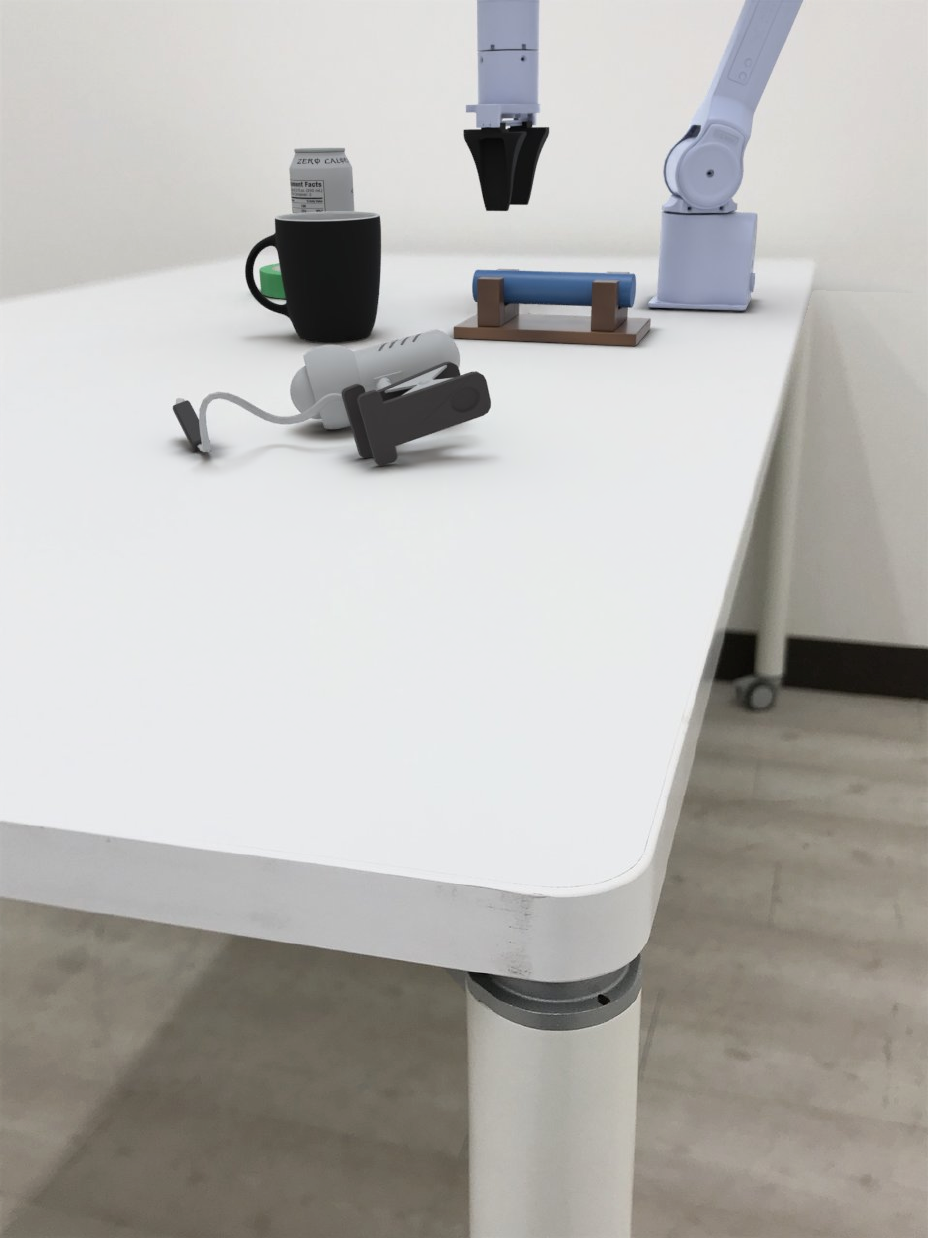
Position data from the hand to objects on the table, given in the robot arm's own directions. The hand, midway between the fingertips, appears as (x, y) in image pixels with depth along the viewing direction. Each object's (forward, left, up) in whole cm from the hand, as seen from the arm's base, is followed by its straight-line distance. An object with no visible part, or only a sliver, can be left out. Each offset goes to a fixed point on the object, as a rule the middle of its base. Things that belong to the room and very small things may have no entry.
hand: (507, 207), depth 108 cm
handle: (-8, +14, -7) cm, 18 cm away
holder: (-8, +14, -9) cm, 19 cm away
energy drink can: (+17, +6, -10) cm, 20 cm away
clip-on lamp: (-3, +52, -10) cm, 53 cm away
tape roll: (+24, -5, -10) cm, 26 cm away
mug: (+12, +20, -10) cm, 25 cm away
